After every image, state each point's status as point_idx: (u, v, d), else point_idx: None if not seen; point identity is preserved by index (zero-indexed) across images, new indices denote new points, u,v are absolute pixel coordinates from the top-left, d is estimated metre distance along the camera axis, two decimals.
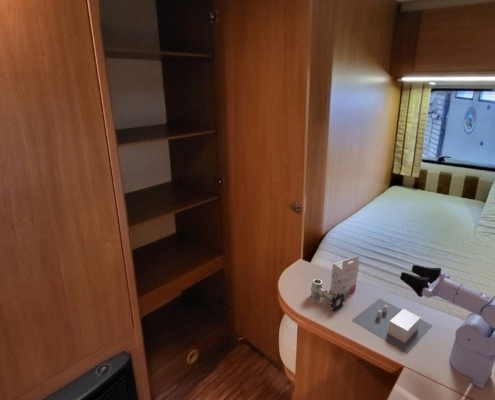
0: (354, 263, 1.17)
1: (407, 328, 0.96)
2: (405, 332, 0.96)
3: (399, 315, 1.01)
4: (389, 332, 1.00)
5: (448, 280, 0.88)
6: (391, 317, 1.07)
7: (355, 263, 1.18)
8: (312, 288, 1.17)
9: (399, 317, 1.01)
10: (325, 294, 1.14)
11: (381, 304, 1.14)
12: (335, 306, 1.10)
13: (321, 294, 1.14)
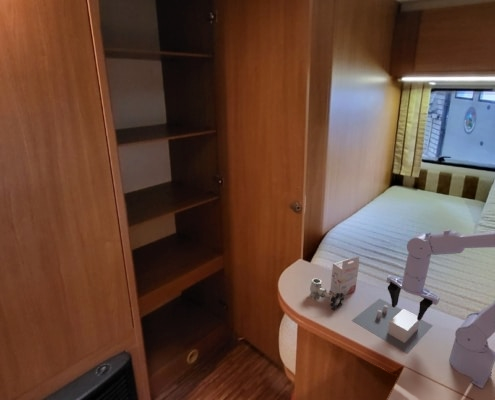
0: (354, 263, 1.17)
1: (407, 328, 0.96)
2: (405, 332, 0.96)
3: (399, 315, 1.01)
4: (389, 332, 1.00)
5: None
6: (391, 317, 1.07)
7: (355, 263, 1.18)
8: (311, 287, 1.17)
9: (399, 317, 1.01)
10: (324, 293, 1.15)
11: (381, 304, 1.14)
12: (334, 305, 1.10)
13: (320, 293, 1.15)
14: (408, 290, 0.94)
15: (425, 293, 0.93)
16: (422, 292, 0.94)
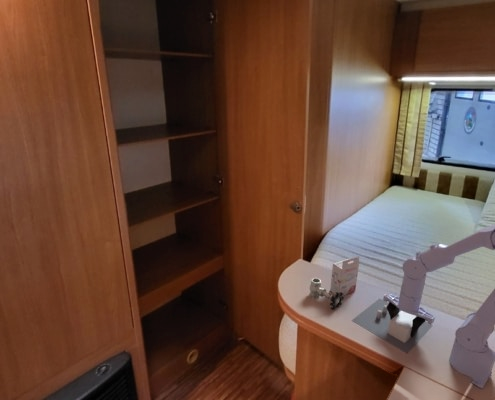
0: (354, 263, 1.17)
1: (407, 328, 0.96)
2: (405, 332, 0.96)
3: (399, 315, 1.01)
4: (389, 332, 1.00)
5: None
6: None
7: (355, 263, 1.18)
8: (311, 287, 1.17)
9: (399, 317, 1.01)
10: (324, 293, 1.15)
11: (381, 304, 1.14)
12: (334, 305, 1.10)
13: (320, 293, 1.15)
14: (404, 309, 0.96)
15: (421, 312, 0.96)
16: (418, 311, 0.96)
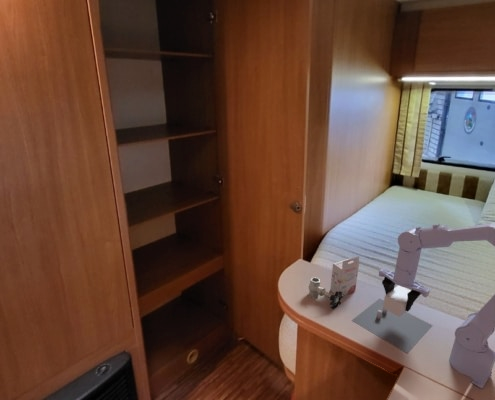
0: (354, 263, 1.17)
1: (402, 302, 0.96)
2: (400, 306, 0.96)
3: (394, 291, 1.02)
4: (384, 307, 1.00)
5: None
6: (391, 317, 1.07)
7: (355, 263, 1.18)
8: (310, 286, 1.18)
9: (394, 292, 1.01)
10: (323, 292, 1.15)
11: (381, 304, 1.14)
12: (334, 303, 1.11)
13: (319, 292, 1.16)
14: (399, 283, 0.97)
15: (416, 286, 0.96)
16: (413, 285, 0.96)
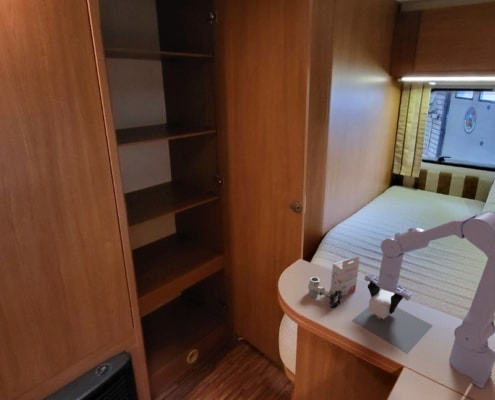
0: (354, 263, 1.17)
1: (386, 305, 1.02)
2: (384, 309, 1.02)
3: (379, 294, 1.08)
4: (369, 309, 1.06)
5: None
6: (391, 317, 1.07)
7: (355, 263, 1.18)
8: (310, 286, 1.18)
9: (379, 296, 1.07)
10: (323, 291, 1.16)
11: None
12: (333, 303, 1.11)
13: (319, 292, 1.16)
14: (383, 287, 1.02)
15: (398, 290, 1.02)
16: (396, 289, 1.02)
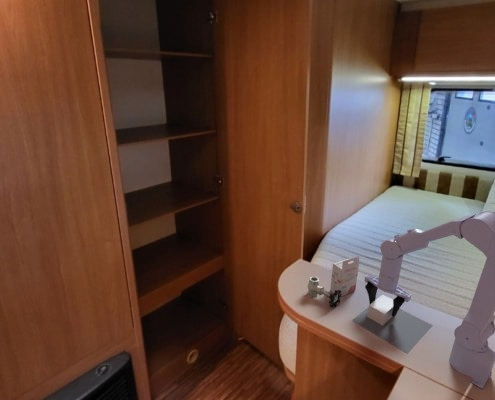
0: (354, 263, 1.17)
1: (384, 311, 1.03)
2: (383, 315, 1.03)
3: (378, 300, 1.08)
4: (368, 316, 1.07)
5: None
6: (391, 317, 1.07)
7: (355, 263, 1.18)
8: (309, 286, 1.18)
9: (378, 302, 1.08)
10: (322, 291, 1.16)
11: None
12: (333, 302, 1.12)
13: (318, 291, 1.16)
14: (383, 289, 1.03)
15: (398, 291, 1.02)
16: (395, 290, 1.02)
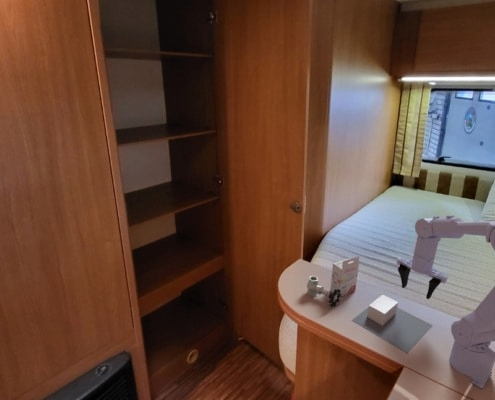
0: (354, 263, 1.17)
1: (384, 311, 1.03)
2: (383, 315, 1.03)
3: (378, 300, 1.08)
4: (368, 316, 1.07)
5: None
6: (391, 317, 1.07)
7: (355, 263, 1.18)
8: (308, 285, 1.18)
9: (378, 302, 1.08)
10: (322, 290, 1.16)
11: None
12: (333, 301, 1.12)
13: (318, 291, 1.16)
14: (418, 270, 1.00)
15: (434, 273, 1.00)
16: (431, 272, 1.00)
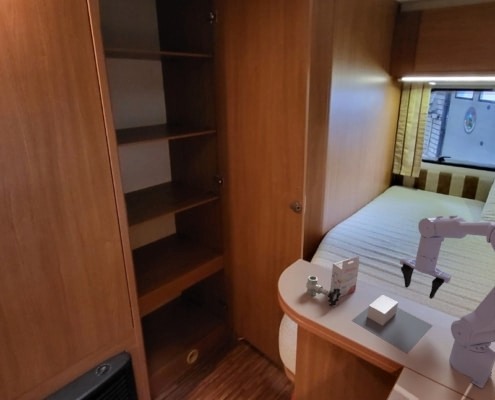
0: (354, 263, 1.17)
1: (384, 311, 1.03)
2: (383, 315, 1.03)
3: (378, 300, 1.08)
4: (368, 316, 1.07)
5: None
6: (391, 317, 1.07)
7: (355, 263, 1.18)
8: (308, 285, 1.19)
9: (378, 302, 1.08)
10: (321, 290, 1.17)
11: None
12: (332, 301, 1.12)
13: (317, 290, 1.17)
14: (421, 270, 1.00)
15: (437, 272, 0.99)
16: (434, 271, 1.00)
